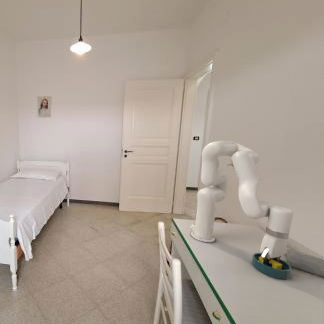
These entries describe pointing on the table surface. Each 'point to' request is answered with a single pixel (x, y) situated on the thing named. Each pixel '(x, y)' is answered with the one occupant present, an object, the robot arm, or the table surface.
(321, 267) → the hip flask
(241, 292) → the table surface
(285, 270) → the bowl
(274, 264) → the sponge
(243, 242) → the table surface
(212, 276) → the table surface
